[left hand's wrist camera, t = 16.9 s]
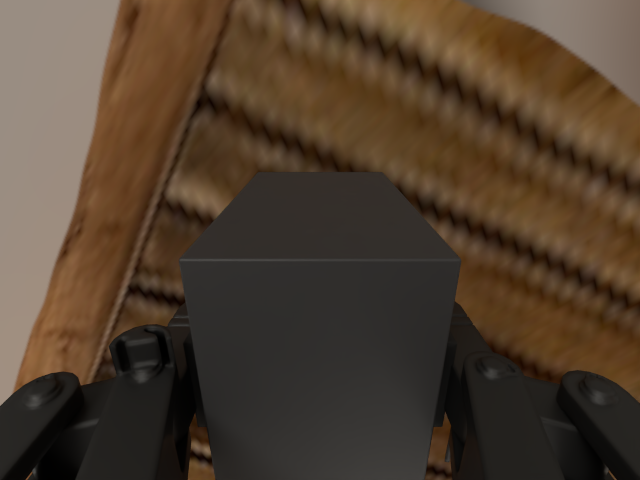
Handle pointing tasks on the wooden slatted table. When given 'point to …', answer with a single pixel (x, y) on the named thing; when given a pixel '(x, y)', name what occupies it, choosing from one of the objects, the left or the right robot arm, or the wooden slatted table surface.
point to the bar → (320, 329)
